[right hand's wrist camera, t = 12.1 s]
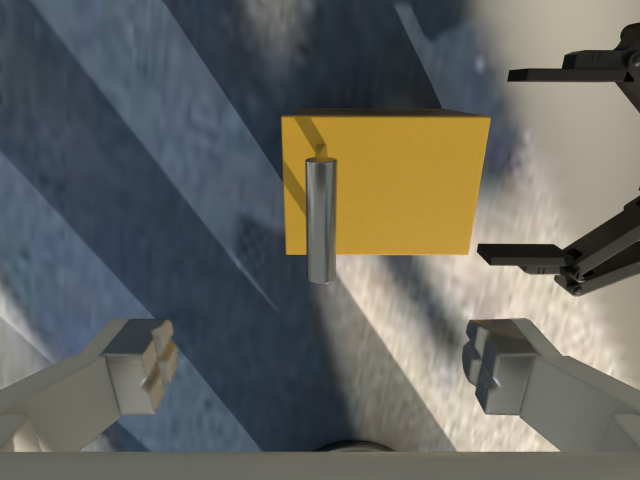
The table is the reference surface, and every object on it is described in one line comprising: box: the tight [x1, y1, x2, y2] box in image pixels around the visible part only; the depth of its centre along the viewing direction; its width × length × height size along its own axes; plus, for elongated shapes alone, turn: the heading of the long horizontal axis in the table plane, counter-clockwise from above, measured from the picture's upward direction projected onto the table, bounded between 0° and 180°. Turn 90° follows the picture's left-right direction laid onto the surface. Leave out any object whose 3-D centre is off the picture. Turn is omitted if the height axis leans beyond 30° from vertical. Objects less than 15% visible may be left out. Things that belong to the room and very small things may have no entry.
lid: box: [281, 115, 491, 284], centre depth 23 cm, size 13×10×8 cm
